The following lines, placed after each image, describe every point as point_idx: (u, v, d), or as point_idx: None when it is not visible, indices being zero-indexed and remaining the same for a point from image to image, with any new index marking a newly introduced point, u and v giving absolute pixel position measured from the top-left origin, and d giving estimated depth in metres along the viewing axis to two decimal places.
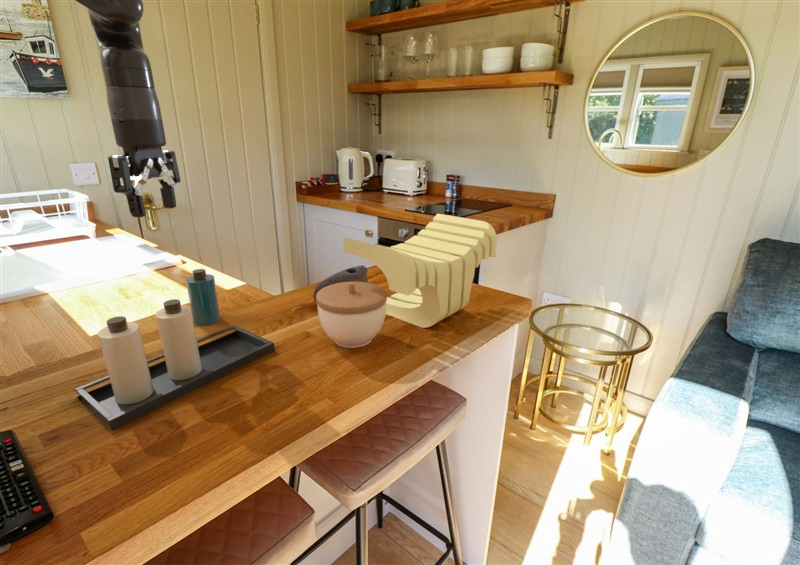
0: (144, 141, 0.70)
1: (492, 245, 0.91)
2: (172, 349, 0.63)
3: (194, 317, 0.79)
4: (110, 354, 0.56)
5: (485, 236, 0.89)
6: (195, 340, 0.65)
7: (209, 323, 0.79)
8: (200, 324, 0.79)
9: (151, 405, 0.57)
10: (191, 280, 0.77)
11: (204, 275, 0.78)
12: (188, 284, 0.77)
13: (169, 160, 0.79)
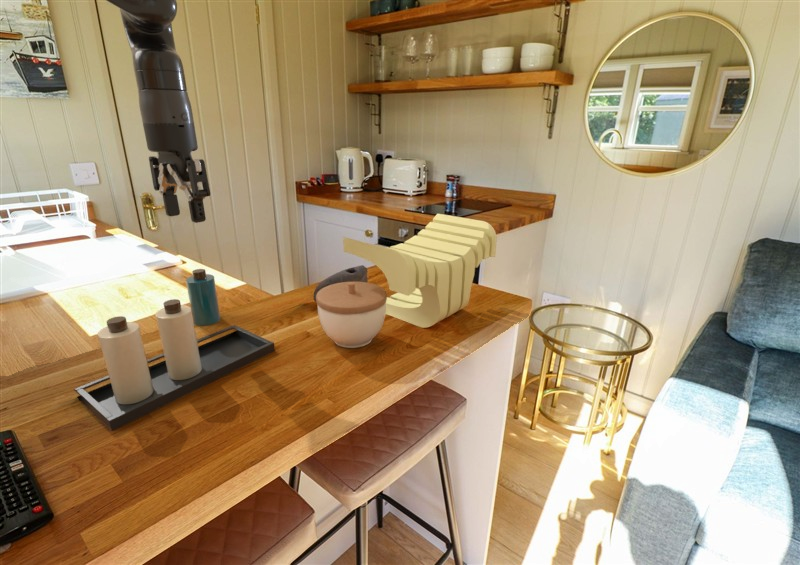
0: (196, 145, 0.71)
1: (492, 245, 0.91)
2: (172, 349, 0.63)
3: (194, 317, 0.79)
4: (110, 354, 0.56)
5: (485, 236, 0.89)
6: (195, 340, 0.65)
7: (209, 323, 0.79)
8: (200, 324, 0.79)
9: (151, 405, 0.57)
10: (191, 280, 0.77)
11: (204, 275, 0.78)
12: (188, 284, 0.77)
13: None
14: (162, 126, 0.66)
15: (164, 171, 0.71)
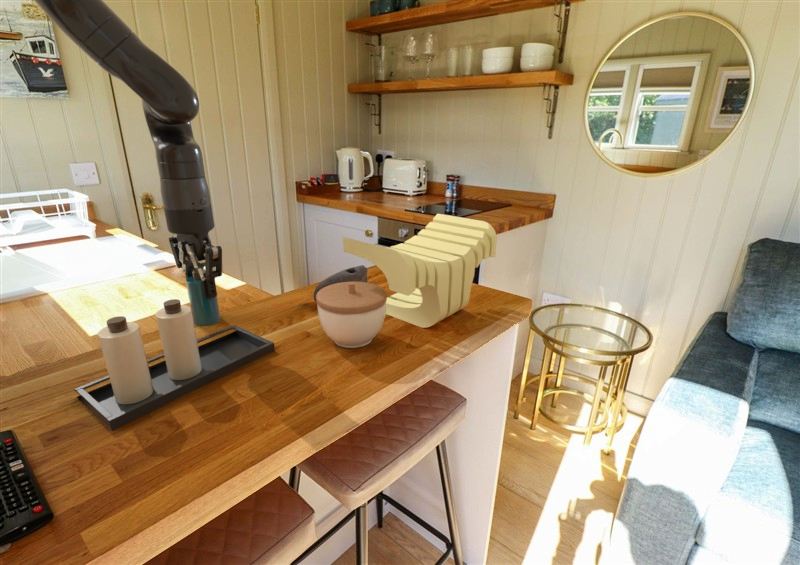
0: (213, 224, 0.75)
1: (492, 245, 0.91)
2: (172, 349, 0.63)
3: (194, 317, 0.79)
4: (110, 354, 0.56)
5: (485, 236, 0.89)
6: (195, 340, 0.65)
7: (209, 323, 0.79)
8: (200, 324, 0.79)
9: (151, 405, 0.57)
10: (191, 280, 0.77)
11: None
12: (188, 284, 0.77)
13: None
14: (182, 212, 0.70)
15: (183, 248, 0.75)
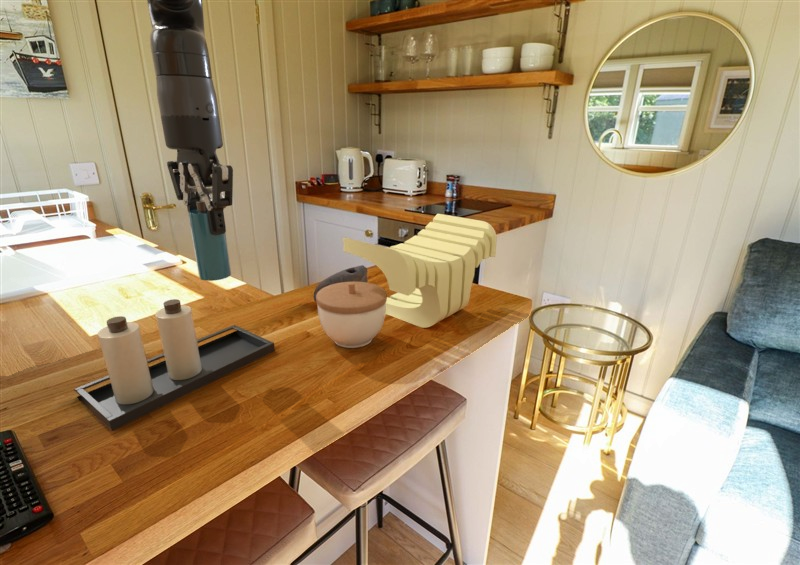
0: (221, 141, 0.61)
1: (492, 245, 0.91)
2: (172, 349, 0.63)
3: (198, 259, 0.65)
4: (110, 354, 0.56)
5: (485, 236, 0.89)
6: (195, 340, 0.65)
7: (216, 266, 0.65)
8: (205, 267, 0.65)
9: (151, 405, 0.57)
10: (194, 212, 0.63)
11: None
12: (191, 216, 0.63)
13: None
14: (184, 119, 0.56)
15: (185, 171, 0.62)
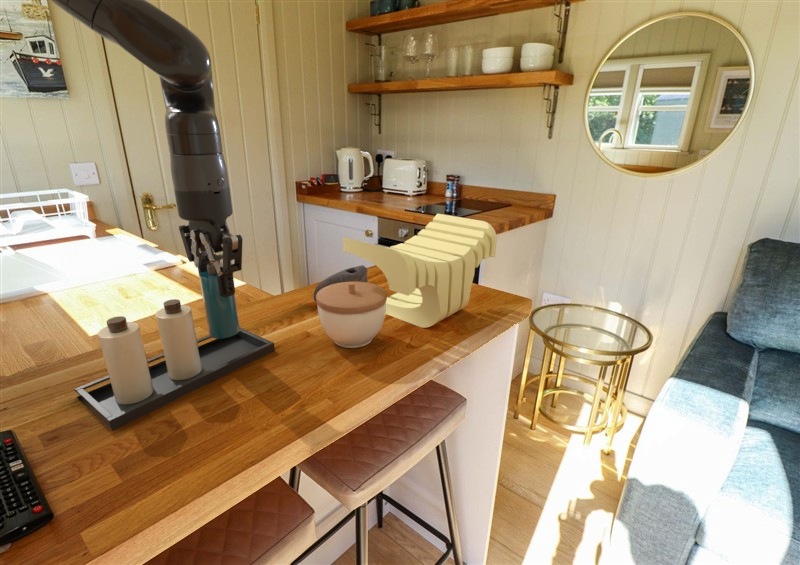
0: (231, 210, 0.64)
1: (492, 245, 0.91)
2: (172, 349, 0.63)
3: (208, 318, 0.68)
4: (110, 354, 0.56)
5: (485, 236, 0.89)
6: (195, 340, 0.65)
7: (226, 325, 0.68)
8: (215, 326, 0.68)
9: (151, 405, 0.57)
10: (205, 275, 0.66)
11: None
12: (202, 280, 0.66)
13: None
14: (196, 194, 0.59)
15: (196, 238, 0.65)
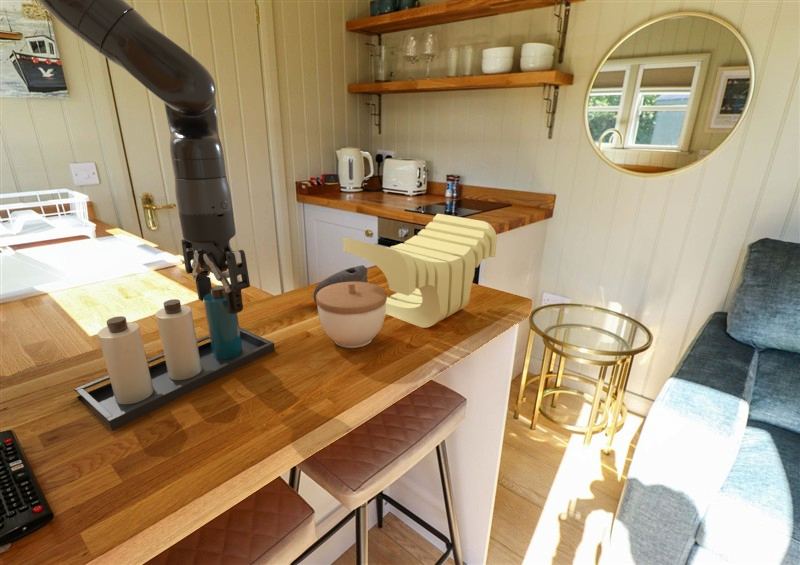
0: (234, 231, 0.66)
1: (492, 245, 0.91)
2: (172, 349, 0.63)
3: (212, 340, 0.69)
4: (110, 354, 0.56)
5: (485, 236, 0.89)
6: (195, 340, 0.65)
7: (229, 347, 0.70)
8: (219, 348, 0.70)
9: (151, 405, 0.57)
10: (209, 298, 0.68)
11: (224, 293, 0.68)
12: (206, 303, 0.67)
13: None
14: (200, 217, 0.61)
15: (199, 259, 0.66)
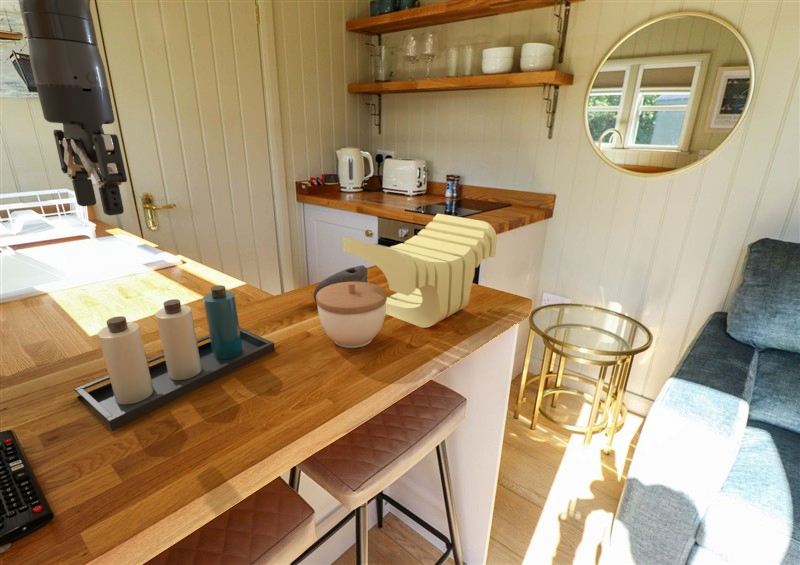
0: (111, 116, 0.56)
1: (492, 245, 0.91)
2: (172, 349, 0.63)
3: (212, 340, 0.69)
4: (110, 354, 0.56)
5: (485, 236, 0.89)
6: (195, 340, 0.65)
7: (229, 347, 0.70)
8: (219, 348, 0.70)
9: (151, 405, 0.57)
10: (209, 298, 0.68)
11: (224, 293, 0.68)
12: (206, 303, 0.67)
13: None
14: (59, 88, 0.51)
15: (69, 148, 0.56)
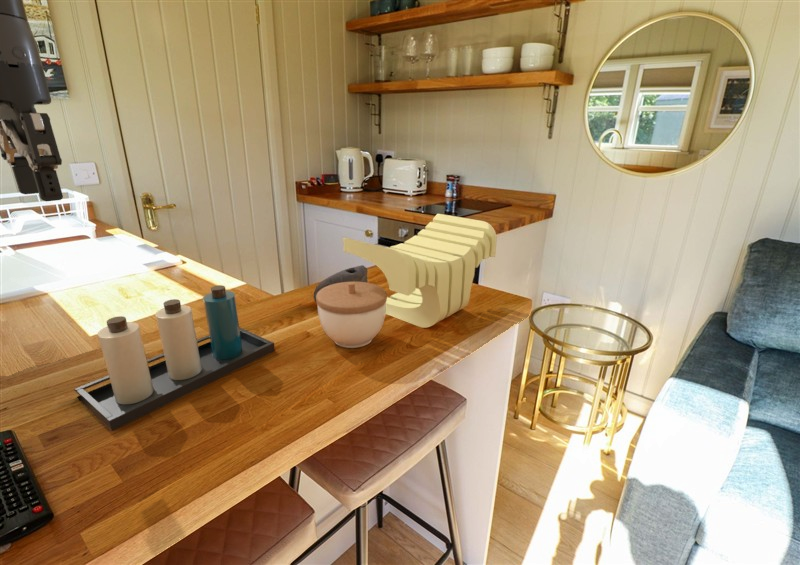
0: (45, 96, 0.52)
1: (492, 245, 0.91)
2: (172, 349, 0.63)
3: (212, 340, 0.69)
4: (110, 354, 0.56)
5: (485, 236, 0.89)
6: (195, 340, 0.65)
7: (229, 347, 0.70)
8: (219, 348, 0.70)
9: (151, 405, 0.57)
10: (209, 298, 0.68)
11: (224, 293, 0.68)
12: (206, 303, 0.67)
13: None
14: None
15: (2, 131, 0.53)
